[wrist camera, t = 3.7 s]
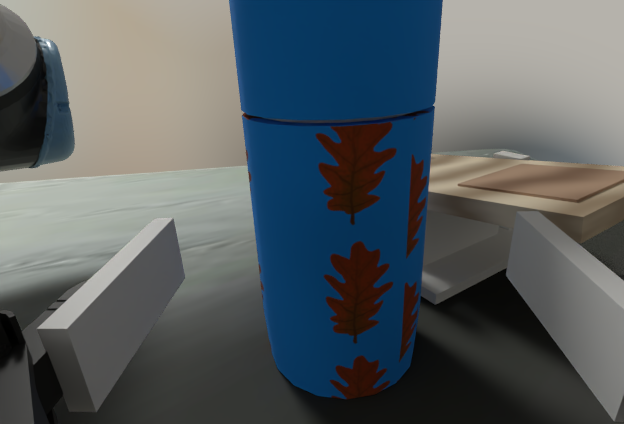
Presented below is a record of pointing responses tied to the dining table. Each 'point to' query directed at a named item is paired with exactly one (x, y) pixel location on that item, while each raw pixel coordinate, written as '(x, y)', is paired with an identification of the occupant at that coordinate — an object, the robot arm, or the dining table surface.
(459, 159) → the beam
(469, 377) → the dining table surface
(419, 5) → the thermos
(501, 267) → the fulcrum
